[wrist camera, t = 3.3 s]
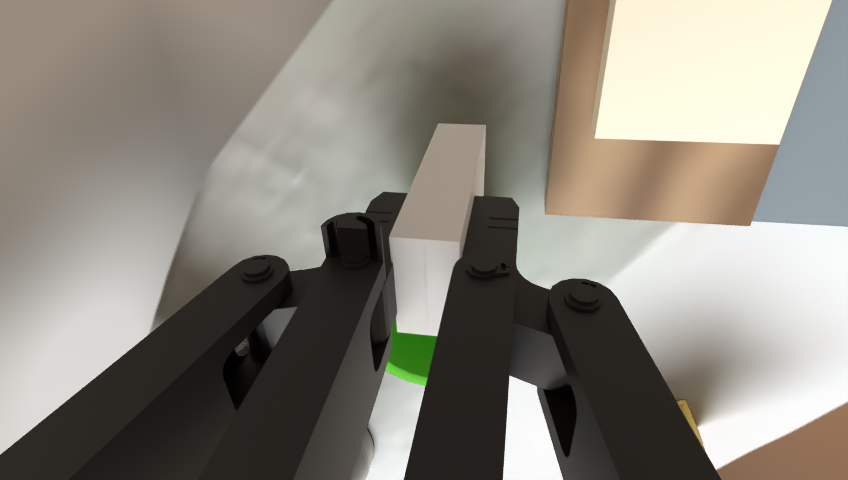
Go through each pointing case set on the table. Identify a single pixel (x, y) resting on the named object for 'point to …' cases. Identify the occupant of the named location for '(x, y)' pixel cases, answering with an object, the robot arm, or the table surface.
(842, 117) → the mat
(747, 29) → the tile
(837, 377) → the table surface
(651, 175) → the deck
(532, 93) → the table surface
